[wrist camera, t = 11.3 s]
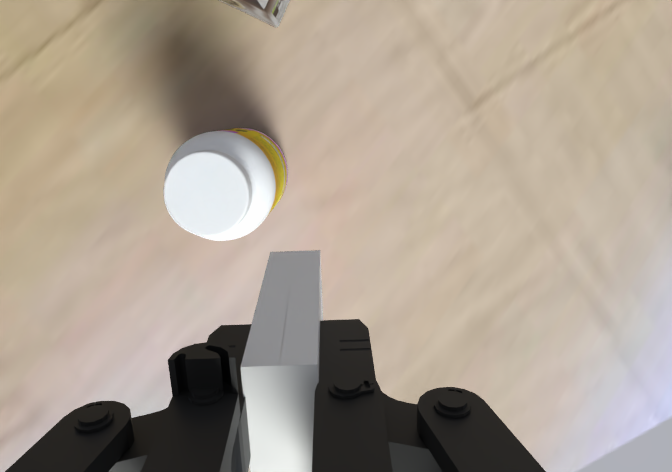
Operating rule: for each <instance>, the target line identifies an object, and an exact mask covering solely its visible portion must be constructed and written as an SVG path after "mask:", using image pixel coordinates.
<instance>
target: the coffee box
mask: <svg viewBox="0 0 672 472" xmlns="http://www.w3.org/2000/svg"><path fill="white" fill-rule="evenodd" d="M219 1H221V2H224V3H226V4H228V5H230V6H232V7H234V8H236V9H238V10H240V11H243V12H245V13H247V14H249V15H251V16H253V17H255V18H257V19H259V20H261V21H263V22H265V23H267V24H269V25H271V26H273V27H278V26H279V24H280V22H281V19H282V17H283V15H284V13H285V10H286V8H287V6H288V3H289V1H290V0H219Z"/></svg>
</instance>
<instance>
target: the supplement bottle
mask: <svg viewBox="0 0 672 472" xmlns="http://www.w3.org/2000/svg"><path fill="white" fill-rule="evenodd" d="M287 181H288V167H287V162H286V159H285V157H284V154H283V152H282V151H281V149H280V148H279V146H278V145H277V144H276V143H275V142H274V141H273V140H272V139H271V138H270V137H268V136H267V135H265V134H264V133H262V132H259V131H257V130H253V129H249V128H233V129H226V130H219V131H211V132H206V133H202V134H199V135H197V136H194V137H192V138H191V139H189V140H188V141H186V142H185V143H184V144H182V145H181V146H180V147H179V148H178V149H177V150H176V152H175V153H174V154H173V156H172V158H171V160H170V162H169V164H168V167H167V170H166V174H165V183H164V201H165V205H166V208H167V210H168V212H169V214H170V215H171V217H172V218H173V220H174V221H175V222H176V223H177V224H178V225H179V226H180V227H182V228H183V229H185V230H186V231H188V232H190V233H193V234H196V235H198V236H200V237H203V238H206V239H210V240H217V241H227V240H233V239H237V238H240V237H243V236H245V235H247V234H249V233H250V232H252V231H253V230H255V229H256V228H257V227H258V226H259V225H260V224H261V223H262V222H263V221H264V220H265V218H266V217H267V216H268V214H269V213H270V212H271V211H272V209H273V208H274V207H275V205H276V204H277V203H278V202H279V200H280V199H281V197H282V195H283V193H284V191H285V189H286V185H287Z"/></svg>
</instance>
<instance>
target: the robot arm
mask: <svg viewBox="0 0 672 472" xmlns="http://www.w3.org/2000/svg"><path fill="white" fill-rule="evenodd" d="M168 365H169V372H170V379H171V387H172V394H173V397H172V399H171V402H170V404H169V406H168V408H166V409H164V410H162V411H158V412H155V413H151V414H147V415H143V416H139V417H134V418H131V413H130V409H129V408H128V407H127V406H126V405H125V404H123V403H120V402H116V401H98V402H95V403H94V402H93V403H89V404H86V405H84V406H82V407H80V408H77V409H75V410H73V411H72V412H71V413H69V414H68V415H66V416H65V417H64V418H62V419H61V420H60V421H59V422H58V423H57V424H56V425H55V426H54V427H53V428H52V429H51V430H50V431H48V432H47V433H46V434H45V435H44V436H43V437H42V438H41V439H40V440H39V441H38V442H37V443H36V444H34V445H33V446H32V447H31V448H30V449H29V450H28V451H27V452H26V453H25V454H24V455H23V456H22V457H20V458H19V459H18V460H17V461H16V462H15V463H14V464H13V465H12V466H11V467H10V468H9V469H7V470H6V471H5V472H248V469H249V465H250V472H546V471H545V470H544V469H543V468H542V467H541V466H540V465H539V463H538V462H537V461H536V460H535V459H534V458H533V456H532V455H531V454H530V453H529V452H528V451H527V450H526V448H525V447H524V446H523V445H522V444H521V443H520V441H519V440H518V439H517V438H516V437H515V436H514V435H513V433H512V432H511V431H510V430H509V429H508V428H507V426H506V425H505V424H504V423H503V422H502V421H501V420H500V418H499V417H498V416H497V415H496V414H495V413H494V411H493V410H492V409H491V408H490V407H489V406H488V405H487V403H486V402H485V401H484V400H483V399H481V398H480V397H479V396H478V395H476V394H475V393H472V392H470V391H467V390H465V389H460V388H455V387H444V388H436V389H433V390H430V391H427V392H426V393H425V394H423V395H422V396H421V397H420V399H419V401H418V404H411V403H406V402H402V401H398V400H395V399H393V398H390V397H388V396H387V395H386V394H384V393H383V392H382V391H381V390H380V387H379V385H378V383H377V381H376V378H375V371H374V364H373V357H372V351H371V344H370V337H369V330H368V328H367V327H366V326H365V325H364V324H363V323H362V322H361V321H360V320H359V319H353V320H324V321H323V306H322V281H321V256H320V250H315V251H285V252H270V256H269V260H268V264H267V267H266V271H265V275H264V279H263V283H262V287H261V290H260V294H259V298H258V302H257V306H256V310H255V313H254V317H253V321H252V324H249V325H221V326H220V327H219V328H218V329H216V330H215V331H214V332H213V333H212V334H210V335H209V338H208V340H207V343H199V344H194V345H191V346H187V347H184V348H182V349H180V350H179V351H177V352H175V353H173V355H172V356H171V357H170V358H169V359H168Z"/></svg>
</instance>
